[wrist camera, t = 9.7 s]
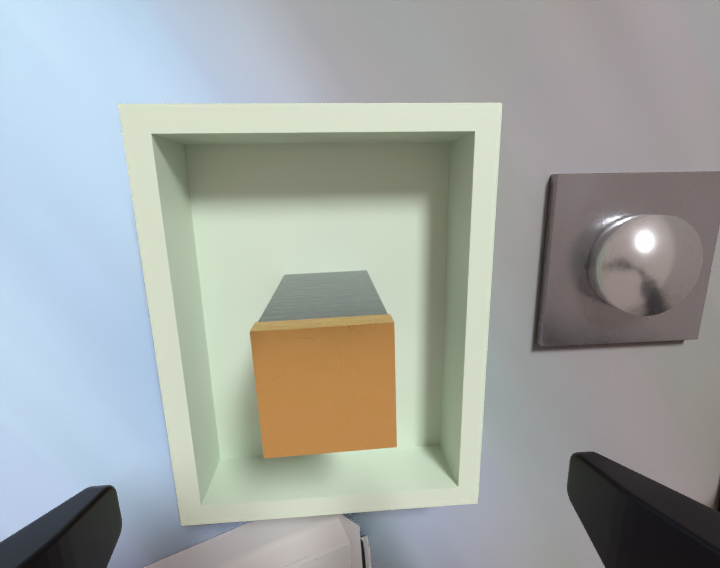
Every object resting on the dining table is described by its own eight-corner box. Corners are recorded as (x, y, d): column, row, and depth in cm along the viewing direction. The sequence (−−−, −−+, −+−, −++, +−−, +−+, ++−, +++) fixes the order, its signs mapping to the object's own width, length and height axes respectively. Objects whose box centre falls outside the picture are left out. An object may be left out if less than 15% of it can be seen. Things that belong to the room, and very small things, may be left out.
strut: (367, 269, 19) (394, 322, 11) (370, 347, 20) (397, 447, 12) (283, 273, 19) (249, 331, 11) (290, 352, 20) (263, 458, 12)
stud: (687, 335, 22) (722, 349, 20) (536, 342, 21) (556, 357, 19) (718, 172, 20) (760, 169, 18) (551, 174, 19) (576, 172, 17)
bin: (452, 450, 23) (477, 503, 19) (207, 466, 22) (181, 526, 18) (466, 122, 18) (502, 102, 15) (164, 123, 18) (117, 103, 14)
